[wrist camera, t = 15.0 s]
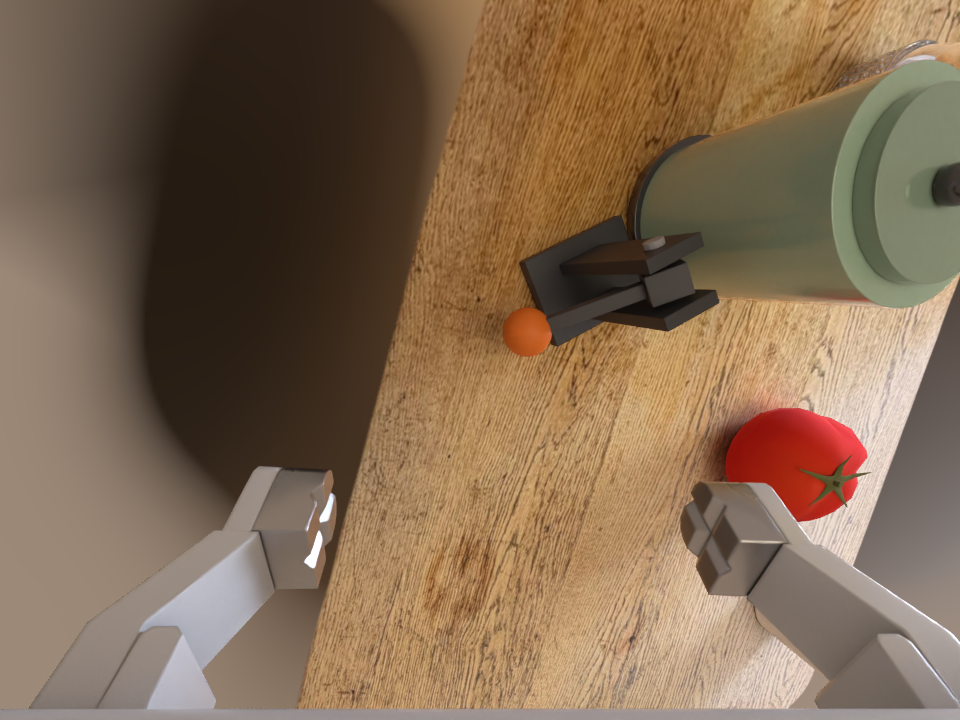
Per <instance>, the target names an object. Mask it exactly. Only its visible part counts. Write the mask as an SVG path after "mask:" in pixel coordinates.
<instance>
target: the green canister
mask: <svg viewBox="0 0 960 720" xmlns="http://www.w3.org/2000/svg"><path fill="white" fill-rule="evenodd" d="M694 232H701V235H702V239H703V243H704V247H702V248H700V249H698V250H696V251H694V252H692V253H690V254H689V255H687V256H685V257H683V258H681V259H682V260H684V261H685V262H687V264H688V268H689V271H690V275H691V278H692V282H693V285H694V289H709V290H716V291H717V295H718V299H729V300H747V301H765V302H784V303H802V304H820V305H838V306H856V307H875V308H895V309H902V308H908V307H913V306H916V305H919V304H921V303H924V302H926V301H927V300H929V299H931V298H933V297H934V296H936V295H937V294H938V293H940V292H941V291H942V290H943V289H944V288H946V287H947V286H948V285H949V284H950V283H951V282H952V281H953V279H954V278H955V277H956V276H957V275H958V274H959V272H960V70H958V69H957V68H955V67H953V66H951V65H950V64H948V63H944V62H941V61H937V60H921V61H914V62H911V63H908V64H906V65H903V66H900V67H897V68H895V69H892V70H889V71H887V72H884V73H881V74H879V75H876V76H873V77H870V78H868V79H865V80H862V81H860V82H857V83H854V84H852V85H849V86H846V87H843V88H841V89H838V90H835V91H833V92H830V93H827V94H825V95H822V96H819V97H817V98H814V99H811V100H808V101H806V102H803V103H800V104H798V105H795V106H792V107H790V108H787V109H784V110H781V111H779V112H776V113H773V114H771V115H768V116H765V117H763V118H760V119H757V120H754V121H752V122H749V123H746V124H744V125H741V126H738V127H736V128H733V129H730V130H727V131H725V132H722V133H719V134H717V135H714V136H712V135H697V136H692V137H688V138H686V139H683V140H680V141H678V142H675V143H673V144H671V145H669V146H668V147H666V148H664V149H663V150H662V151H660V152H659V153H658V154H657V155H656V156H655V157H654V158H653V159H652V160H651V161H650V162H649V163H648V165H647V166H646V167H645V169H644V170H643V171H642V173H641V175H640V177H639V178H638V180H637V183H636V185H635V187H634V189H633V192H632V196H631V199H630V203H629V208H628V216H627V235H628V238H629V241H630V240H638V239H646V238H654V237H658V236H670V235H678V234H686V233H694Z"/></svg>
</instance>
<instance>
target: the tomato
mask: <svg viewBox="0 0 960 720" xmlns="http://www.w3.org/2000/svg"><path fill="white" fill-rule="evenodd" d="M866 458H867V451H866V449H865V448H864V447H863V445H862V444H861V442H860V441H859V439H858V438H857V436H856V435H855V434H854V432H853V431H852V429H850V428H848V427H846V426H845V425H843V424H841V423H839V422H837V421H835V420H833V419H832V418H828V417H823V416H820V415H818V414H815V413H813V412H811V411H808V410H804V409H800V408H778V409H774V410H771V411H767V412H764V413H760V414H759V415H757V416H756V417H754V418H753V419H752V420H750V421H749V422H747V423H746V424H745V425H743V426H742V427H741V429H740V430H739V432H738V433H737V434H736V436H735V437H734V438H733V440H732V442H731V444H730V447H729V450H728V452H727V455H726V464H725V473H726V476H727V479H728V482H740V483H744V482H745V483H766V484H768V485H769V486H771V487H772V488H773V490H774V491H775V492H776V494H777V495H778V496H779V498H780V499H781V500H782V502H783V503H784V505H785V506H786V507H787V509H788V510H789V511H790V513H791V514H792V515H793V517H794V518H795V519H796V521H797V522H801V521H810V520H814V519H818V518H821V517H823V516H825V515H828V514H830V513H832V512H834V511H836V510H837V509H838V508H839V507H841V506H842V505H843V504H845V506H846V507H847V504H846V502H847V501H848V500H850V499H851V498H852V496H853V494H854V491H855V489H856V487H857V484H858V481H857V477H858V476H862V475H865V474H868V473H859V474H856V471H857V470H858V469H859V467H860V466H861V465H862V463H863V462H864V461H865V460H866ZM869 473H871V472H869ZM847 508H848V507H847Z"/></svg>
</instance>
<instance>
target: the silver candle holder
mask: <svg viewBox="0 0 960 720" xmlns="http://www.w3.org/2000/svg"><path fill="white" fill-rule="evenodd" d="M924 43H925V44H924ZM922 44H924V45H922ZM921 60H937V61H941V62H944V63H948V64H950V65H951V66H953V67H955V68H957V69H958V70H960V41H958V42H953V43H939V42H936V41H933V40H920V41H917V42H914V43H912V44H909V45H907V46H904V47H902V48H899V49H897V50H894V51H892V52H889V53H887V54H884V55H882V56H879V57H877V58H874V59H872V60H869V61H867V62H864V63H862V64H859V65H857V66H854V67H852V68H851V69H849V70H847V71H846V72H845V73H844V74H842V75H841V76H840V77H839V79H838V80H837V81H836V82H835V83H834V85H833V86H832V88H831V89H830V91H829V93H830V92H832V91H833V90H834V91H835V90H838V89H841V88H843V87H846V86H849V85H852V84H854V83H857V82H860V81H862V80H865V79H868V78H870V77H873V76H876V75H879V74H881V73H884V72H887V71H889V70H892V69H895V68H897V67H900V66H903V65H906V64H908V63H911V62H914V61H921ZM847 73H848V74H847ZM842 78H843V79H842ZM841 79H842V80H841ZM837 84H838V85H837ZM836 85H837V87H836Z"/></svg>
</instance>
